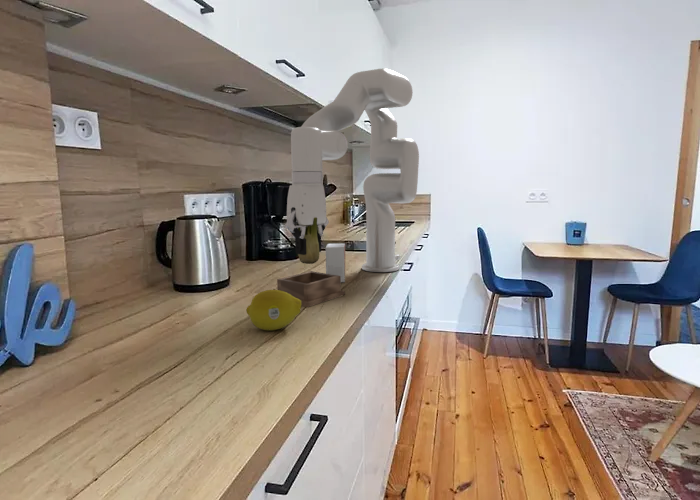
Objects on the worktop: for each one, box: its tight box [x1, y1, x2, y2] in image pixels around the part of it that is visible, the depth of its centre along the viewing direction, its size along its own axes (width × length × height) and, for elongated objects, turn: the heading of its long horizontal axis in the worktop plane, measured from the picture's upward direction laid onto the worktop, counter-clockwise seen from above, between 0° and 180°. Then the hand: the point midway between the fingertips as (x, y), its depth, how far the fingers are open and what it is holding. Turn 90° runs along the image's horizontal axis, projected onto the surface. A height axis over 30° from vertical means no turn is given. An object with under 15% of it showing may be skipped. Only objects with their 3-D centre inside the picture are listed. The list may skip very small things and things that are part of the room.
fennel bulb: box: [297, 218, 321, 265], centre depth 107 cm, size 6×5×12 cm
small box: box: [325, 243, 346, 283], centre depth 128 cm, size 8×6×10 cm
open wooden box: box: [276, 270, 346, 308], centre depth 109 cm, size 14×12×5 cm
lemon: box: [246, 289, 302, 331], centre depth 85 cm, size 11×8×8 cm
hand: (308, 252), depth 107 cm, fingers closed on fennel bulb, 4 cm apart
